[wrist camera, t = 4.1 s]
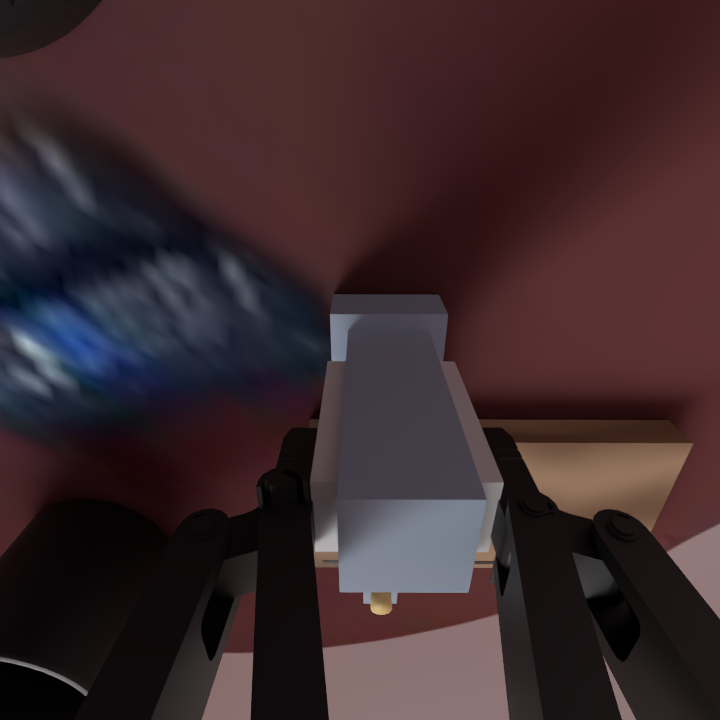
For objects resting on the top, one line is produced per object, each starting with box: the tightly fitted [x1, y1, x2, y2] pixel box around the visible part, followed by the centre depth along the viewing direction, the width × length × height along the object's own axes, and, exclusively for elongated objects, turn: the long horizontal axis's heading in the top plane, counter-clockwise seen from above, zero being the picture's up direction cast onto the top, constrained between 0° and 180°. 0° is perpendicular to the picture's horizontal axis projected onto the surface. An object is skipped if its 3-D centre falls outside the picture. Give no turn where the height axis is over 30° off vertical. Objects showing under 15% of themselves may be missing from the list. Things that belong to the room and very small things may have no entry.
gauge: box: [330, 294, 487, 615], centre depth 19 cm, size 18×5×12 cm, turn 0°
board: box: [308, 419, 693, 568], centre depth 25 cm, size 10×20×2 cm, turn 90°
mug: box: [0, 501, 168, 720], centre depth 25 cm, size 9×12×9 cm
